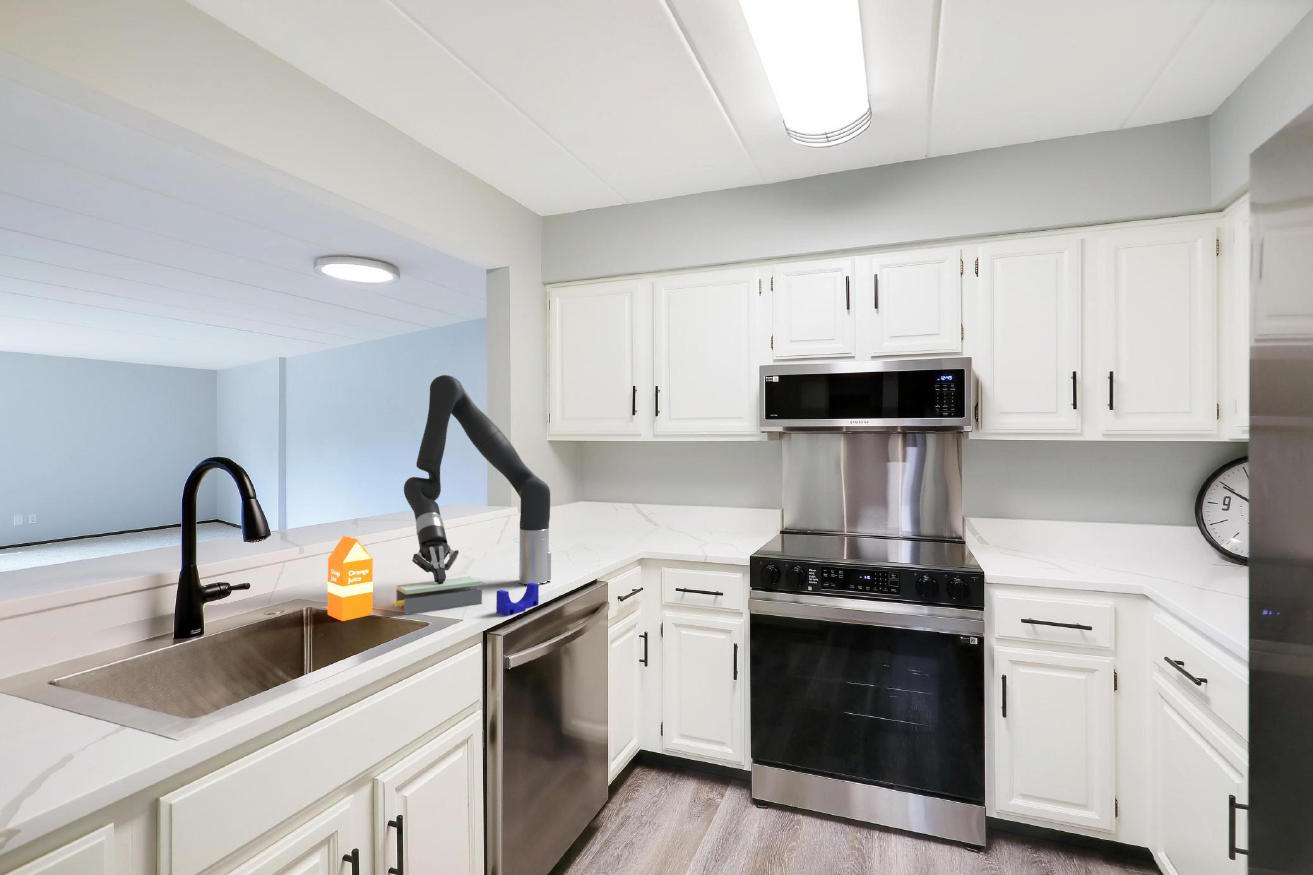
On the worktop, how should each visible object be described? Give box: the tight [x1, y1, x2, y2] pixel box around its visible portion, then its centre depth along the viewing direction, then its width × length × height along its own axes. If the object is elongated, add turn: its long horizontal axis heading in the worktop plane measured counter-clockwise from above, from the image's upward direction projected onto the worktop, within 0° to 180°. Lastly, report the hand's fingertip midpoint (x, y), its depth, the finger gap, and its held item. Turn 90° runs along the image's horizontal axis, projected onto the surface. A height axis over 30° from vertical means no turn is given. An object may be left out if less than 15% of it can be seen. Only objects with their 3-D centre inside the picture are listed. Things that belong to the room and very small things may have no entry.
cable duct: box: [393, 586, 483, 614], centre depth 166 cm, size 23×12×4 cm, turn 124°
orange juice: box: [327, 535, 374, 622], centre depth 155 cm, size 8×9×20 cm
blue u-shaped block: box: [495, 583, 540, 617], centre depth 161 cm, size 12×4×6 cm, turn 144°
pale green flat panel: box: [396, 576, 483, 594], centre depth 166 cm, size 20×12×1 cm, turn 124°
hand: (441, 582), depth 164 cm, fingers closed
